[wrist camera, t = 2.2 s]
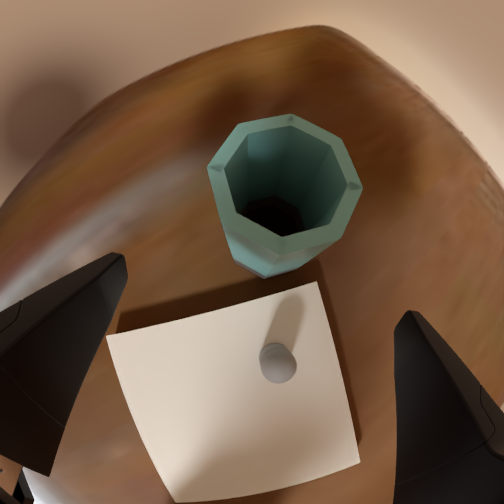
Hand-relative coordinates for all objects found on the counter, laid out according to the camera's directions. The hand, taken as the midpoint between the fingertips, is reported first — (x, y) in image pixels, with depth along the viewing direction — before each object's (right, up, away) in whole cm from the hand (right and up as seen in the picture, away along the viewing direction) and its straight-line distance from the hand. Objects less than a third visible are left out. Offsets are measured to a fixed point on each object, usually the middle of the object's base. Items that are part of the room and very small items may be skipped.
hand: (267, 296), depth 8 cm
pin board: (-1, -10, +10) cm, 14 cm away
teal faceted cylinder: (+1, +2, +12) cm, 12 cm away
